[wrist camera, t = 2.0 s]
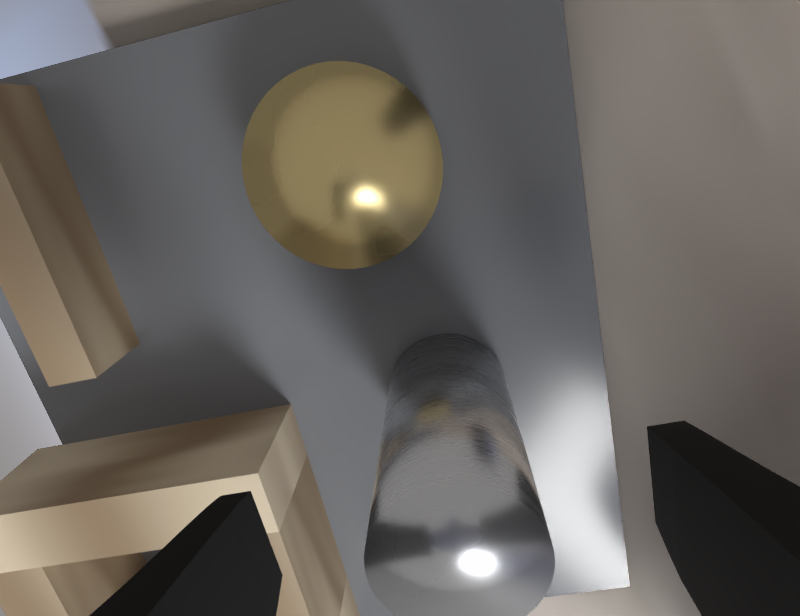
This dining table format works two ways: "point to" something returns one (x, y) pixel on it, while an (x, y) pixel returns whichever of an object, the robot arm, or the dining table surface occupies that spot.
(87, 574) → the beech socket block
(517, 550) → the steel pin
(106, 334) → the beech rail
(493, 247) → the slate board
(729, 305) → the dining table surface
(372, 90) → the gold metal dome
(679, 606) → the dining table surface
